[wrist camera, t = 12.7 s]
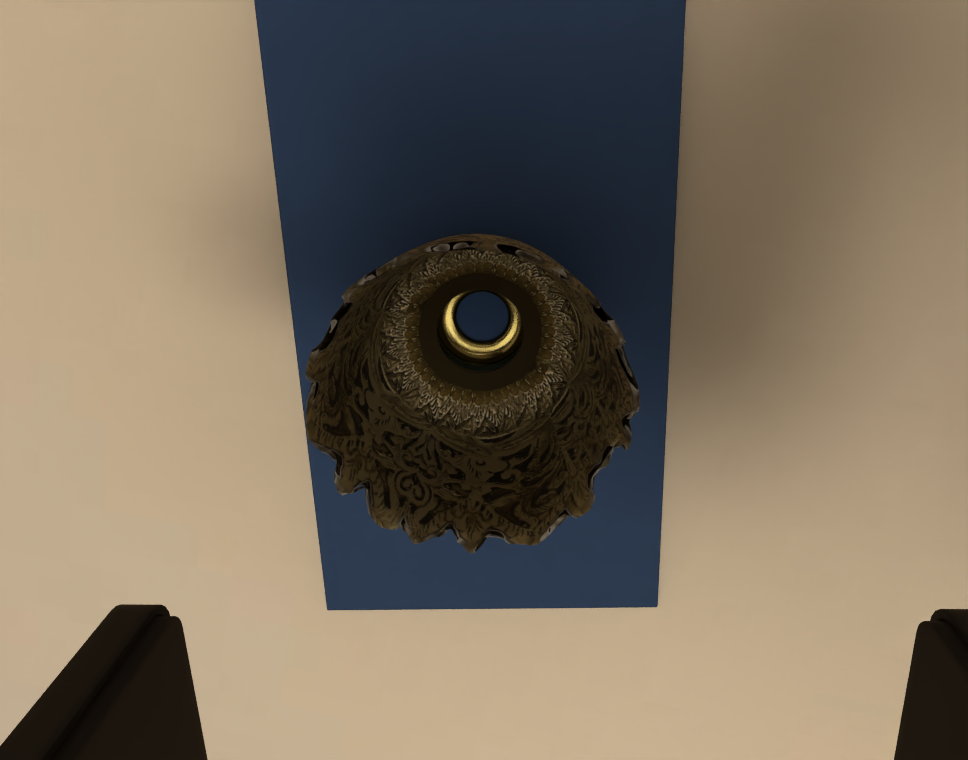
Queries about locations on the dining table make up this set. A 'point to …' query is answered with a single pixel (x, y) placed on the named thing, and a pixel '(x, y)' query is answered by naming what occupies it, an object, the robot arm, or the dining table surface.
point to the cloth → (485, 210)
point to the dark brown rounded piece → (471, 394)
